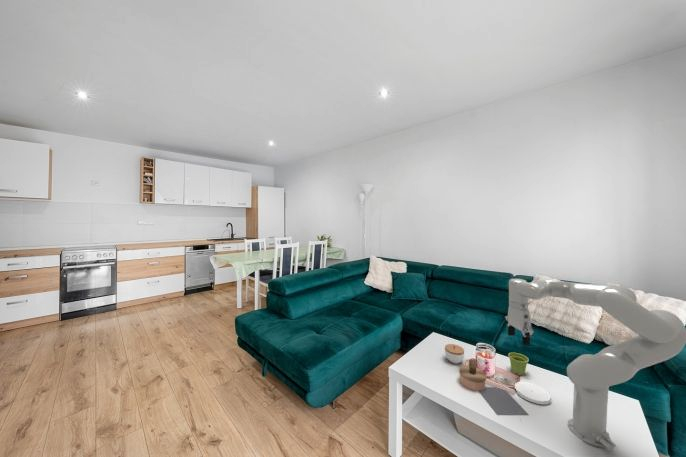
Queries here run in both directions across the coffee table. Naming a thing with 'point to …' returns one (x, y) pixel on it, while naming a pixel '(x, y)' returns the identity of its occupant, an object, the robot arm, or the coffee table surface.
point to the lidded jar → (454, 353)
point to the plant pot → (518, 363)
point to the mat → (502, 402)
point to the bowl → (472, 384)
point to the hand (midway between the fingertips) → (518, 339)
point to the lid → (472, 372)
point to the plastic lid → (533, 393)
